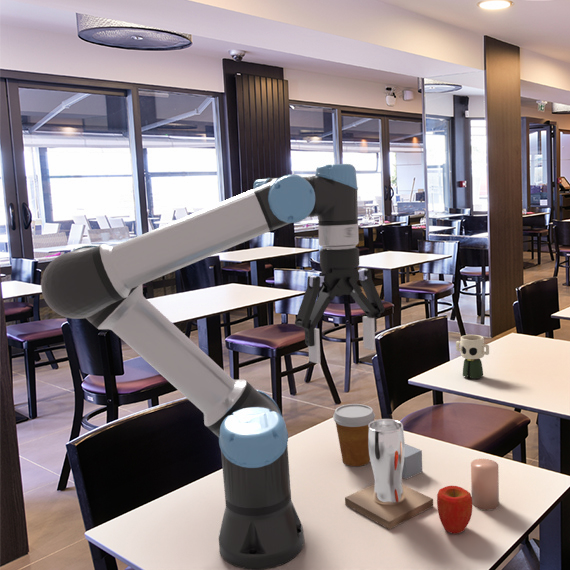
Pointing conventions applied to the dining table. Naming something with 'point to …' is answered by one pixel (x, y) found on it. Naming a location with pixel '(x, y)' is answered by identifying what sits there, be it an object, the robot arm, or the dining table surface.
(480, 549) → the dining table surface
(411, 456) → the slate block
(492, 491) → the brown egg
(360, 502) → the walnut board
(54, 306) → the robot arm
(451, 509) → the apple
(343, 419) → the disposable coffee cup
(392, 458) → the steel tumbler
